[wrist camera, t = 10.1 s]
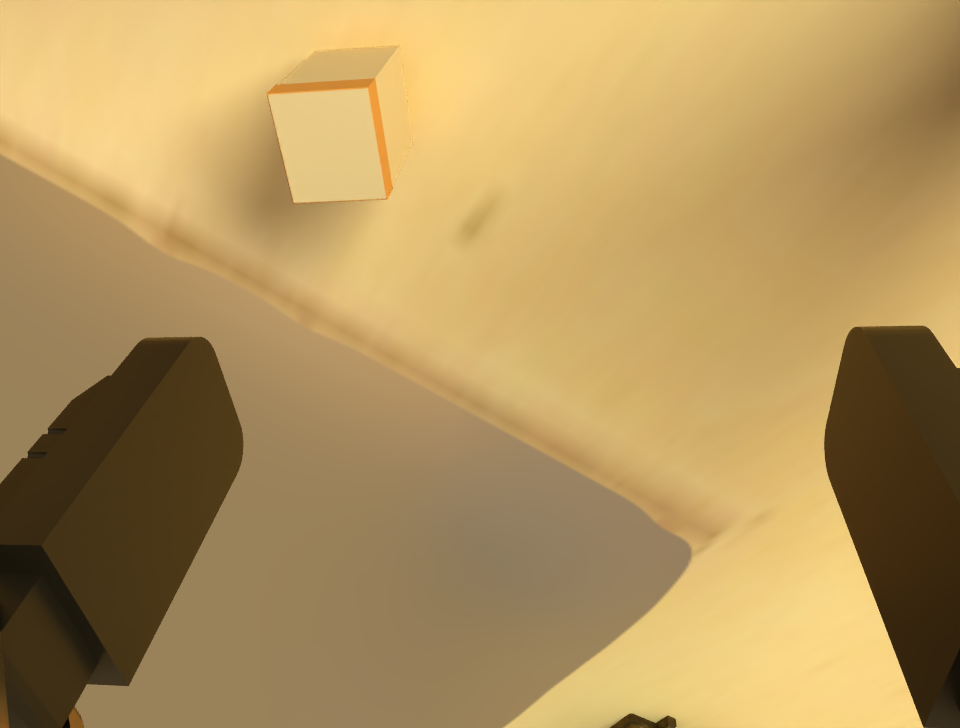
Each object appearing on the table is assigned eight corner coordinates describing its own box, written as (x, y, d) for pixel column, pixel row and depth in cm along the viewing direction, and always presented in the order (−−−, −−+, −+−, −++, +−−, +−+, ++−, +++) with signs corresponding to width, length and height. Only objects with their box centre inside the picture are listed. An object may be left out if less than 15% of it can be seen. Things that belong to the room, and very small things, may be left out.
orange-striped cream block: (400, 43, 35) (368, 87, 29) (414, 142, 38) (387, 199, 32) (313, 50, 35) (266, 94, 30) (333, 147, 38) (292, 204, 32)
